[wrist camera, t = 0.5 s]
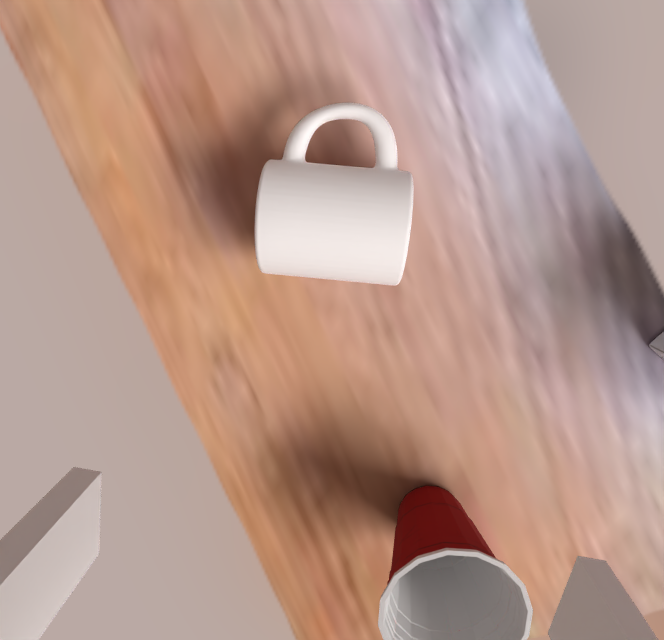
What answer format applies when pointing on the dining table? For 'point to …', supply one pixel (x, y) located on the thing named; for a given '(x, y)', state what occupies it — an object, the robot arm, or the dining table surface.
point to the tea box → (658, 345)
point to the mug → (335, 208)
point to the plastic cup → (448, 578)
